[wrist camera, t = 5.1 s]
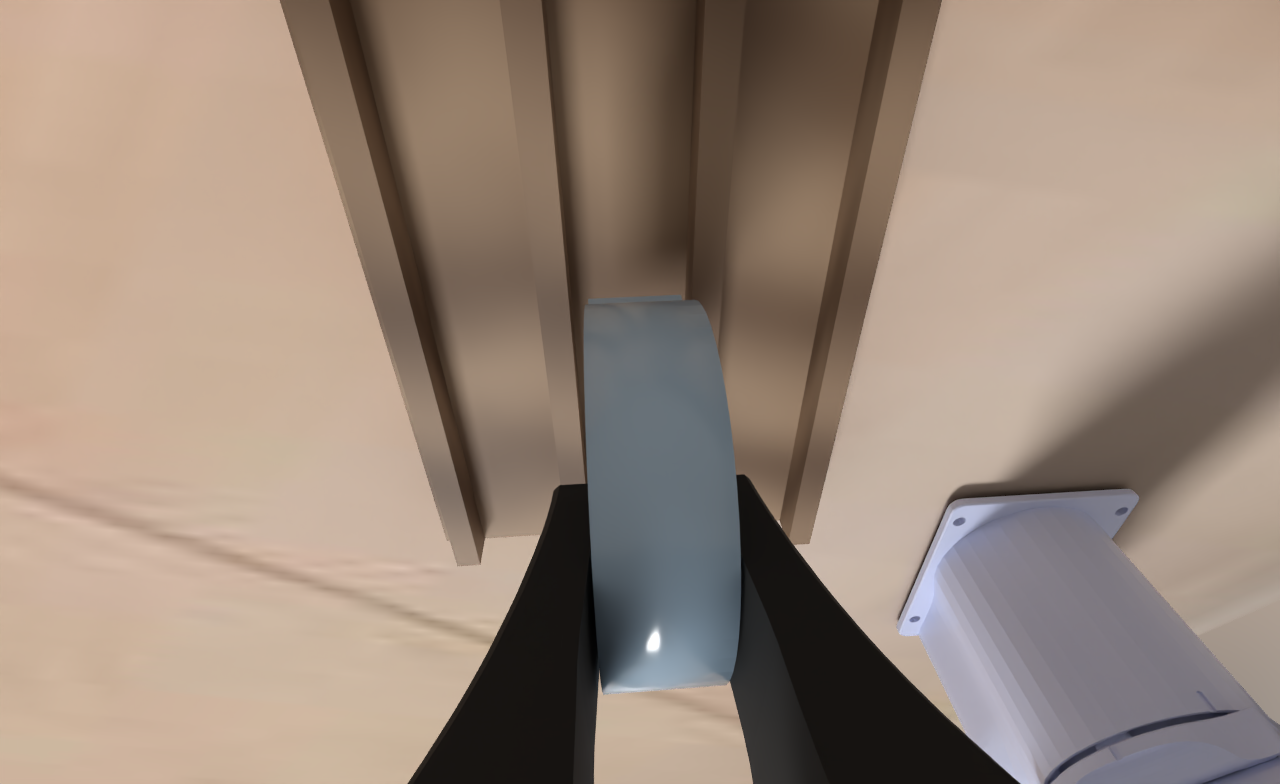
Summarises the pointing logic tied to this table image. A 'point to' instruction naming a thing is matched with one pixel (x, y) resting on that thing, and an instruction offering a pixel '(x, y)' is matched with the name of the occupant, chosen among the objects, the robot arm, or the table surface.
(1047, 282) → the table surface
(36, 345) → the table surface
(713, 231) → the rack
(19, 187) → the table surface
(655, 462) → the blue-grey thick rounded disc
